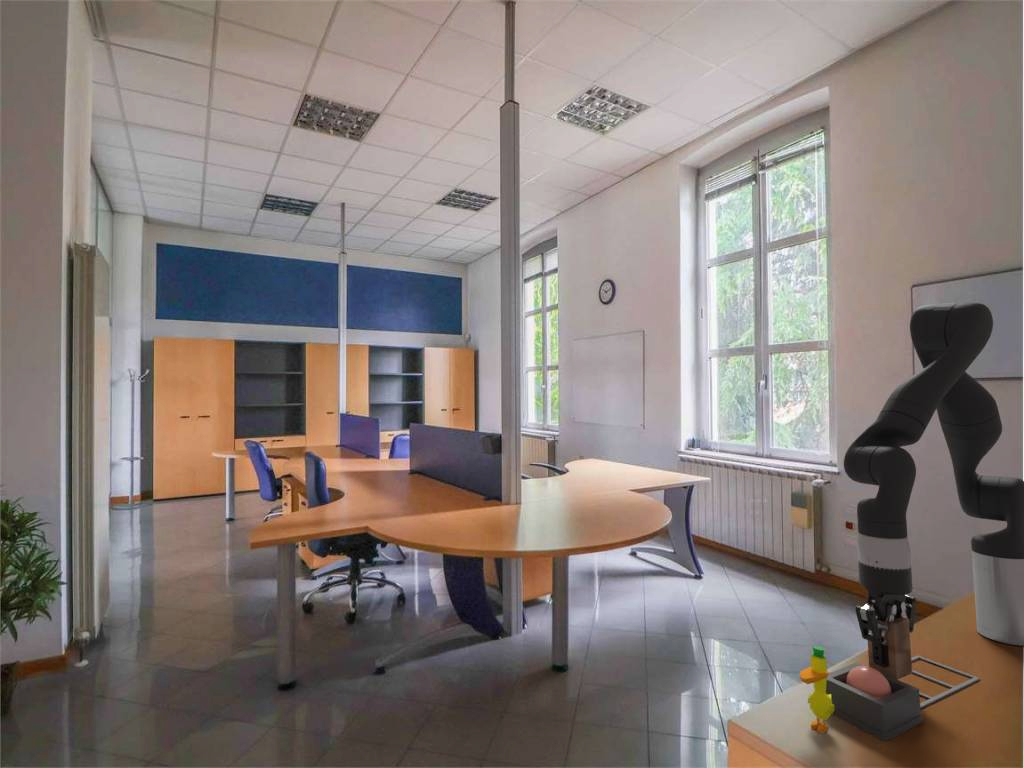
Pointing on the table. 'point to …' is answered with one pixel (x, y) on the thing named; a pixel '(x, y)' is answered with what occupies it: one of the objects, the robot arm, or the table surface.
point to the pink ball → (869, 681)
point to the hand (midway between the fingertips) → (889, 661)
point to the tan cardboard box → (895, 650)
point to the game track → (948, 692)
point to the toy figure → (818, 688)
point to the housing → (875, 705)
